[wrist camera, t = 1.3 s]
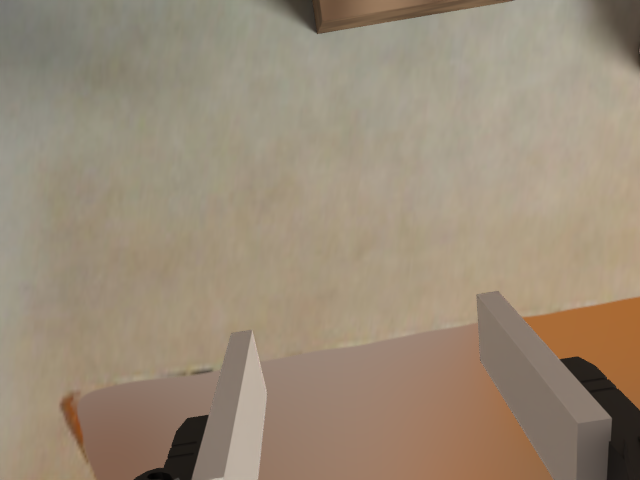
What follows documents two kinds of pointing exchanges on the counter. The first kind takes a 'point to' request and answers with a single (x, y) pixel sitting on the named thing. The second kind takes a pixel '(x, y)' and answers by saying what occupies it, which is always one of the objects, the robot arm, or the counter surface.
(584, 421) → the robot arm
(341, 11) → the platform
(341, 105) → the counter surface
